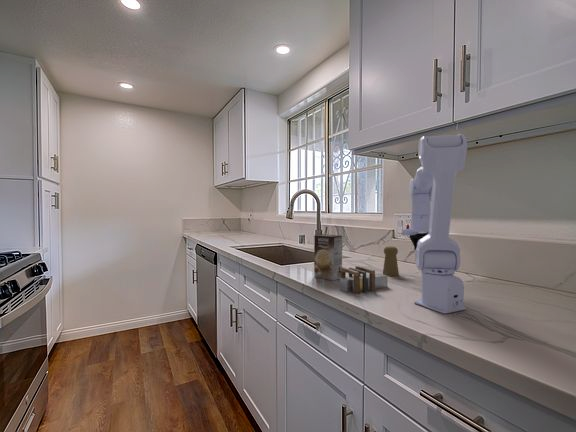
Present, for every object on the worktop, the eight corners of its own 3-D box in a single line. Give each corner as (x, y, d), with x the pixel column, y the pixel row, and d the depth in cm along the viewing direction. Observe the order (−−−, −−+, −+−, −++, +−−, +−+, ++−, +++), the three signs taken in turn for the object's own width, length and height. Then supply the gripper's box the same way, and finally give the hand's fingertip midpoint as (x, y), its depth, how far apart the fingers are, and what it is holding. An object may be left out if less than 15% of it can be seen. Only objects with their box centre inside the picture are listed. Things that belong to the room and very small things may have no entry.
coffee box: (313, 277, 111) (313, 235, 110) (322, 274, 115) (322, 233, 115) (333, 280, 105) (333, 236, 104) (343, 277, 109) (342, 235, 109)
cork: (396, 276, 110) (396, 248, 110) (380, 274, 114) (380, 246, 114) (400, 274, 115) (400, 246, 115) (385, 272, 119) (385, 245, 118)
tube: (379, 284, 99) (379, 273, 99) (387, 287, 96) (387, 275, 96) (340, 289, 93) (340, 277, 93) (347, 292, 89) (347, 280, 89)
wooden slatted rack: (375, 291, 91) (375, 270, 91) (356, 293, 88) (356, 272, 88) (358, 284, 99) (358, 265, 99) (340, 287, 96) (340, 267, 96)
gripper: (426, 215, 102) (426, 253, 103) (394, 215, 97) (394, 256, 97) (444, 215, 96) (444, 256, 96) (411, 215, 90) (411, 259, 90)
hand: (420, 256), depth 96 cm, fingers closed
